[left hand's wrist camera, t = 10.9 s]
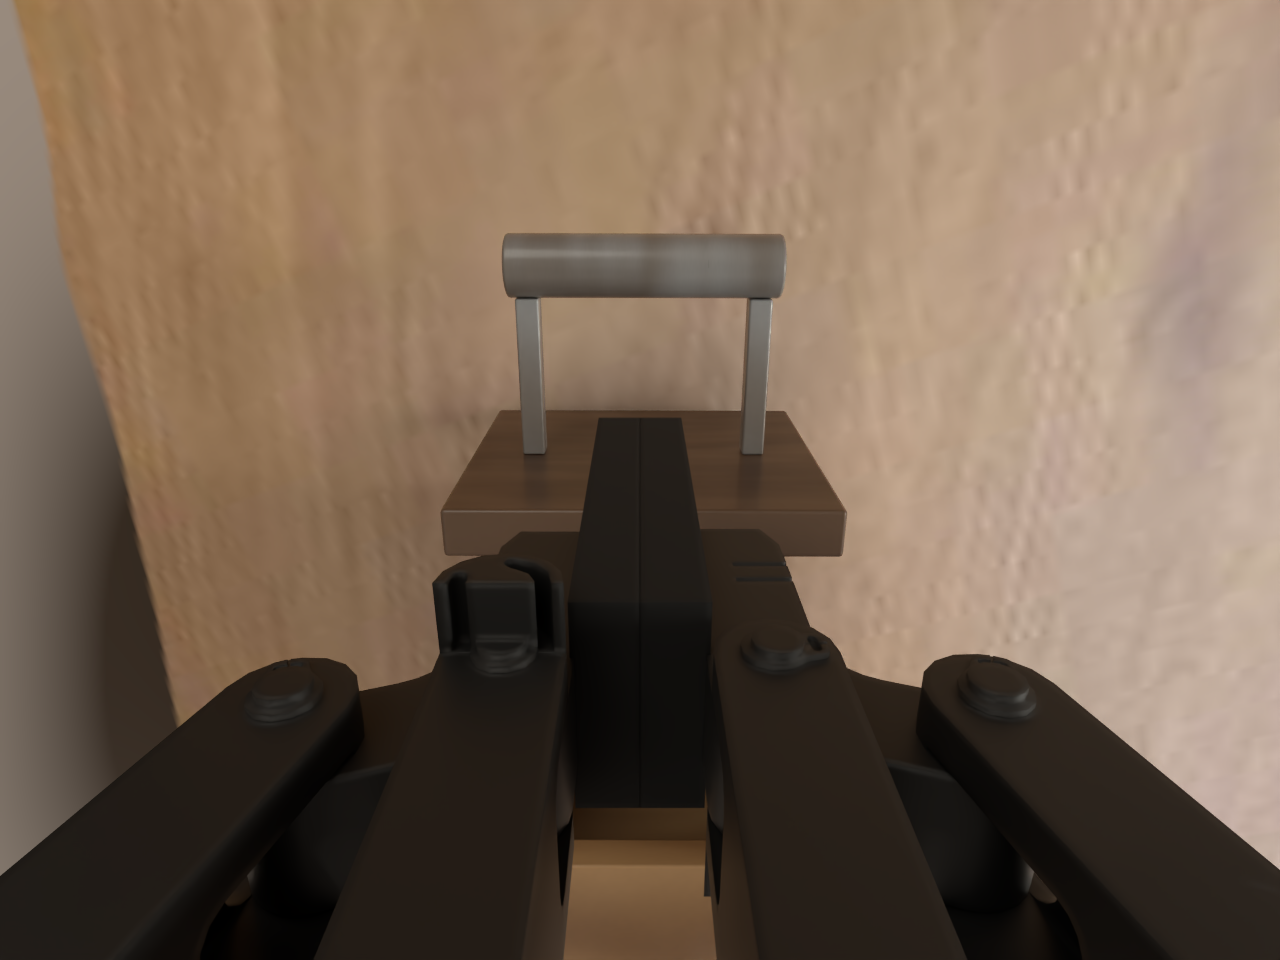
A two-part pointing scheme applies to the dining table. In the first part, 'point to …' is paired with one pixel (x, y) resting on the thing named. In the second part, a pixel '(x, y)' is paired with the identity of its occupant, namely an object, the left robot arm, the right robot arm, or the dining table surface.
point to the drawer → (715, 440)
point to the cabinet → (639, 901)
